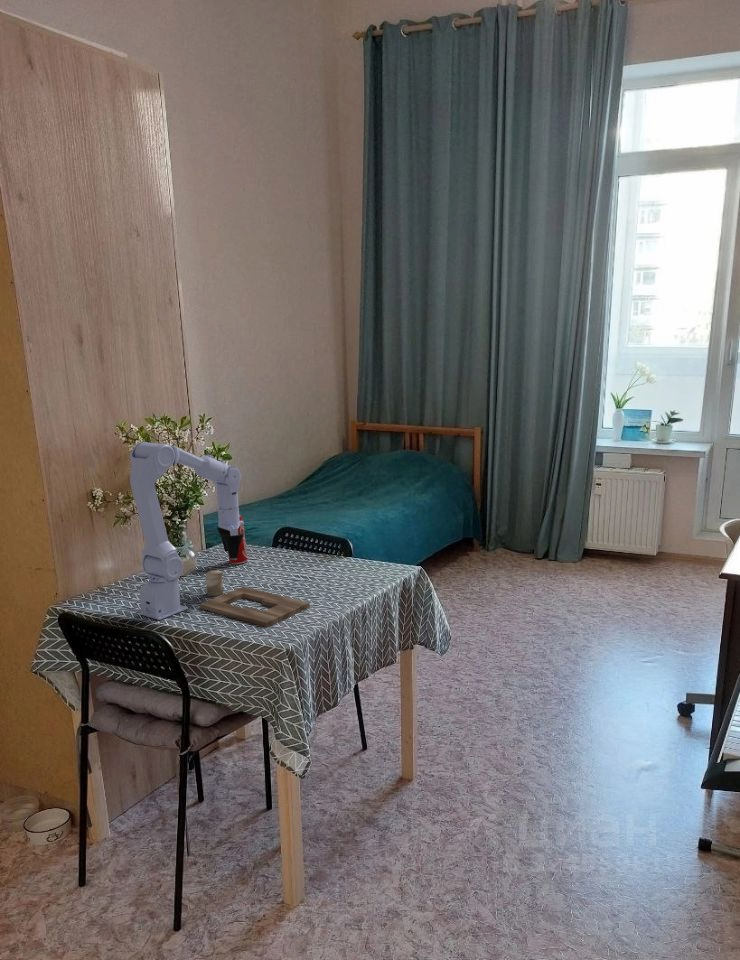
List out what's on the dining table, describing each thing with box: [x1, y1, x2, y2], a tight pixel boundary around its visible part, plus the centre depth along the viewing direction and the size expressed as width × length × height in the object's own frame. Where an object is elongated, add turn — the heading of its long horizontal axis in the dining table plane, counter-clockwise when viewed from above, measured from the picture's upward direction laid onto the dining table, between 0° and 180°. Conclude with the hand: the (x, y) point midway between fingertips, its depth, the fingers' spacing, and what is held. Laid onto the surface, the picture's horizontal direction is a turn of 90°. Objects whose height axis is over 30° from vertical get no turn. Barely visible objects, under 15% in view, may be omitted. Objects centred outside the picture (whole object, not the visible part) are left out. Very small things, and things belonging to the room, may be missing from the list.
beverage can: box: [227, 514, 249, 565], centre depth 231 cm, size 6×6×15 cm
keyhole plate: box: [199, 586, 310, 628], centre depth 192 cm, size 16×24×1 cm, turn 54°
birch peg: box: [205, 570, 224, 598], centre depth 203 cm, size 4×4×6 cm
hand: (231, 554), depth 208 cm, fingers open, 7 cm apart
